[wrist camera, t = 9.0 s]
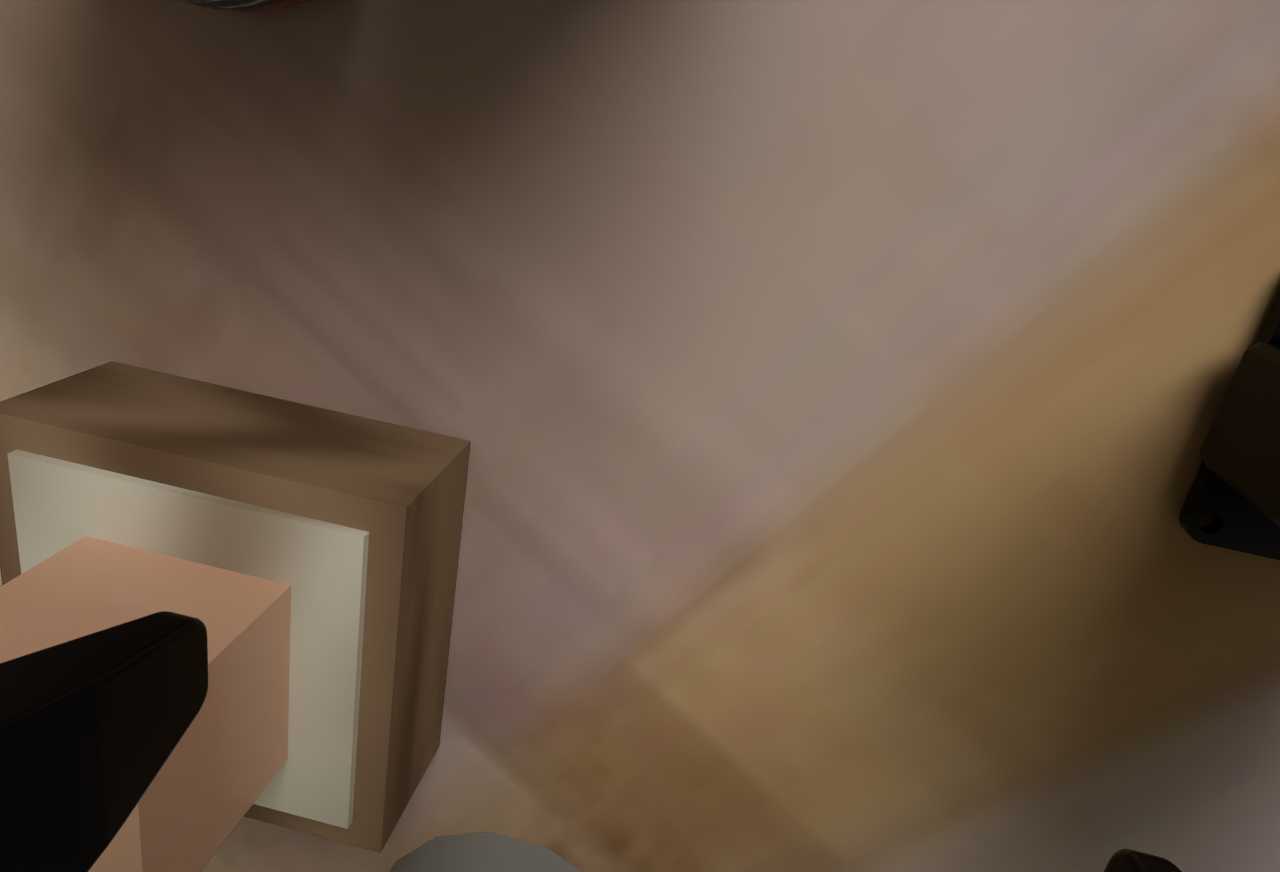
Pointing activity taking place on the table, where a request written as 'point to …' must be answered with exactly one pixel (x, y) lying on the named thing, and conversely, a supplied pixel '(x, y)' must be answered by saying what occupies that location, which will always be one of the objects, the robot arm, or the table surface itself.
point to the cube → (236, 698)
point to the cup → (482, 856)
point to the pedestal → (270, 555)
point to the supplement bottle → (245, 4)
